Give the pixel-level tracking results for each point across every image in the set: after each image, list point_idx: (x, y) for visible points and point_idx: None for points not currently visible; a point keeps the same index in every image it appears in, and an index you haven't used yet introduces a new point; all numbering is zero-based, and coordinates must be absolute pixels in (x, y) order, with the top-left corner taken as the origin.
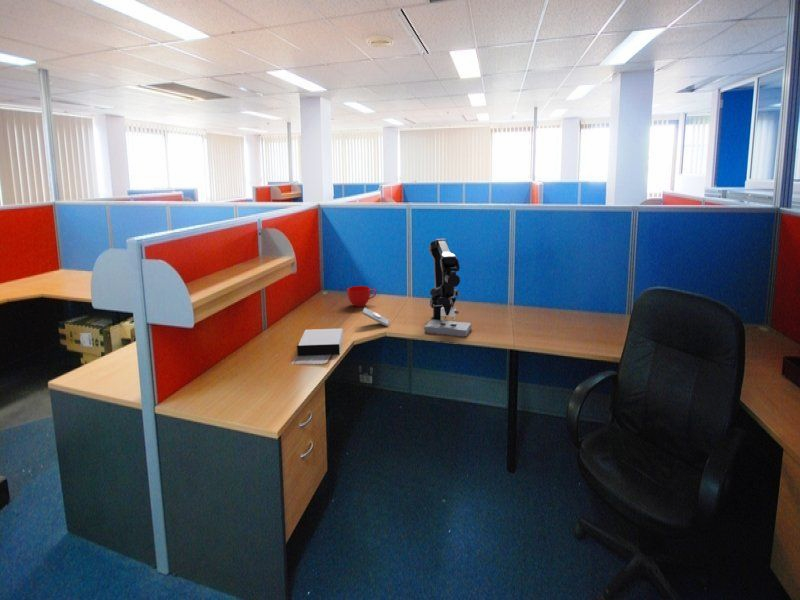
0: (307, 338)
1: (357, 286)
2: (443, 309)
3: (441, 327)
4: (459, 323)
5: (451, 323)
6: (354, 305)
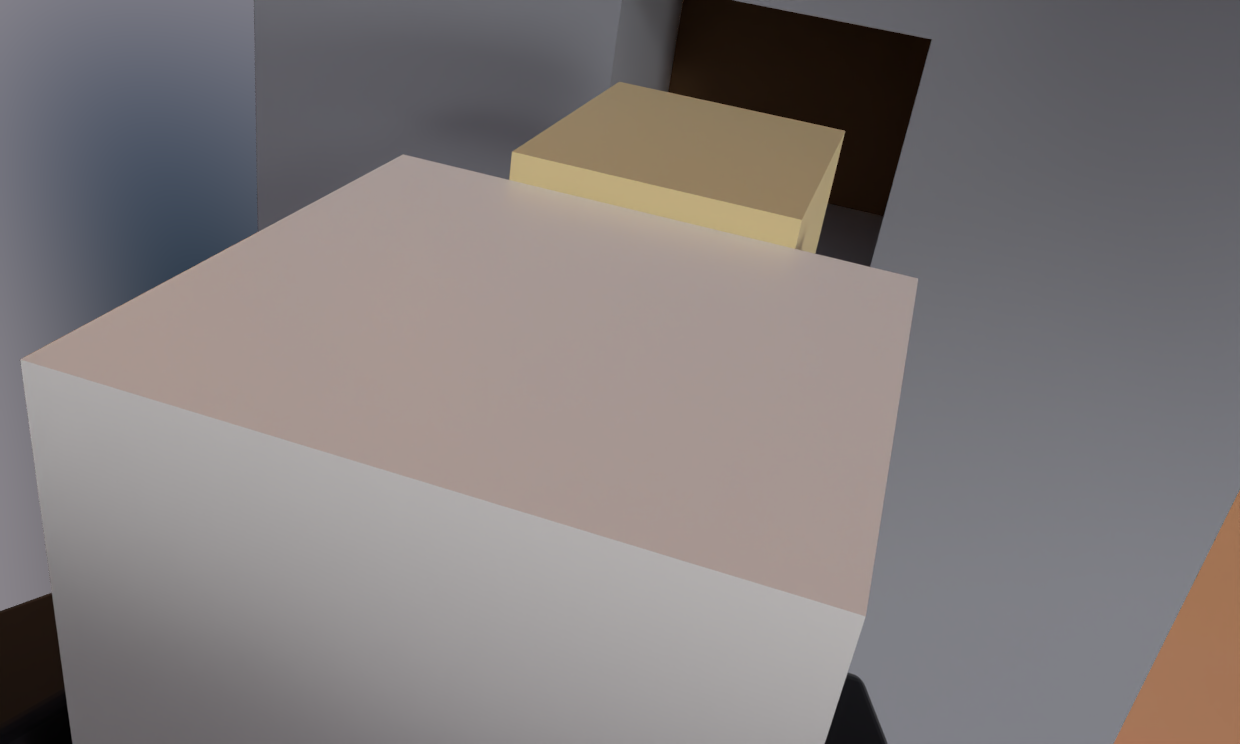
0: None
1: None
2: (110, 564)
3: (327, 103)
4: (895, 731)
5: (889, 479)
6: None
